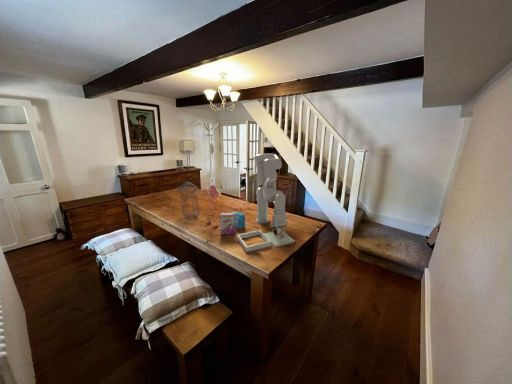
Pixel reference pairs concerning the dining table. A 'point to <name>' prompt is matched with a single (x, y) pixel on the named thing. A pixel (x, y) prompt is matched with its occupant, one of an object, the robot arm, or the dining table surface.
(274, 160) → the robot arm
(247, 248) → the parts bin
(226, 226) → the candy bar box
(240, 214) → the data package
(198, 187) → the geometric lantern
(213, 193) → the figurine
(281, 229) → the beech box
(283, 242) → the sage board
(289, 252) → the dining table surface
